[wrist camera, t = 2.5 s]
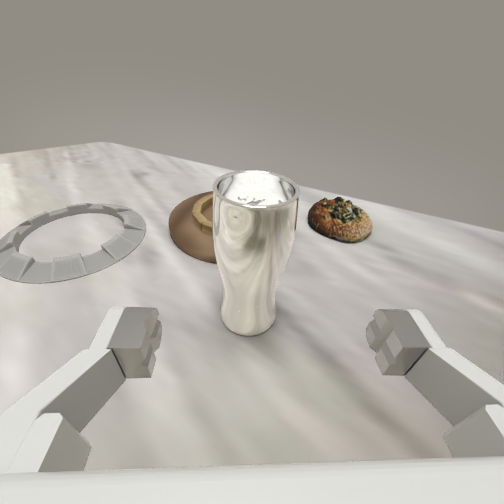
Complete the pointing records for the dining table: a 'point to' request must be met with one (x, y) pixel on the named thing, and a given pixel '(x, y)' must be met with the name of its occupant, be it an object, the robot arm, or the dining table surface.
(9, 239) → the ring
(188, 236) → the round tray
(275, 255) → the beer glass
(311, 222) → the bread roll
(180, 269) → the dining table surface
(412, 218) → the dining table surface
